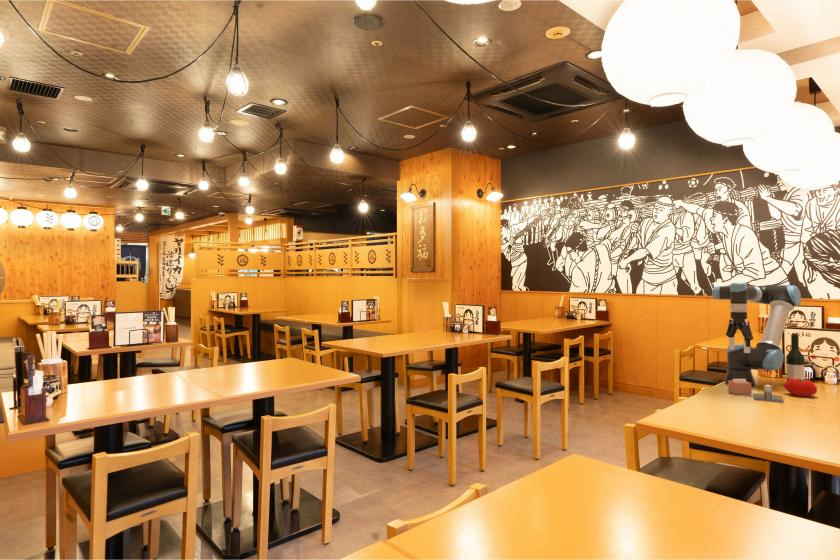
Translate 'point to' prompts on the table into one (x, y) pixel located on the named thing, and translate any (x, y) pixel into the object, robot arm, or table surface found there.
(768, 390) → the grey peg stand
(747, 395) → the mat
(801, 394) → the tomato
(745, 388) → the orange block
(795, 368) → the wine bottle
